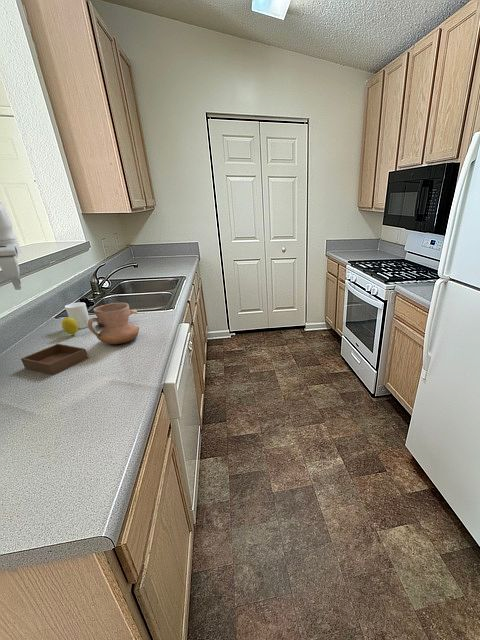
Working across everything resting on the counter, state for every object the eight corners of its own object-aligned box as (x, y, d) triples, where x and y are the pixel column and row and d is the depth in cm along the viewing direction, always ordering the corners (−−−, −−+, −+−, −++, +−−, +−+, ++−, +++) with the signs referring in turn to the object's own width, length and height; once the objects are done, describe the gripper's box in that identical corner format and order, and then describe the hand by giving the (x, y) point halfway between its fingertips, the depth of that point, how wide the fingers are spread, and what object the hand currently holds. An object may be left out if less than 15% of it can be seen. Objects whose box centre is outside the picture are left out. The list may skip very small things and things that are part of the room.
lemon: (73, 332, 144) (66, 314, 140) (83, 333, 143) (77, 315, 139) (62, 337, 139) (55, 319, 135) (73, 338, 138) (67, 320, 134)
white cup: (70, 326, 150) (62, 305, 146) (89, 321, 155) (83, 301, 151) (74, 330, 145) (66, 309, 141) (94, 326, 150) (87, 304, 145)
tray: (25, 368, 114) (20, 358, 113) (61, 352, 125) (58, 343, 124) (53, 375, 110) (49, 365, 108) (88, 358, 121) (85, 348, 119)
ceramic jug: (139, 330, 144) (130, 298, 138) (147, 340, 134) (138, 307, 127) (92, 340, 135) (81, 307, 129) (96, 352, 125) (84, 317, 118)
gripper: (-6, 245, 123) (8, 282, 129) (-10, 252, 109) (7, 293, 115) (15, 244, 127) (28, 280, 133) (15, 250, 112) (29, 291, 118)
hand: (18, 286), depth 124 cm, fingers open, 8 cm apart
